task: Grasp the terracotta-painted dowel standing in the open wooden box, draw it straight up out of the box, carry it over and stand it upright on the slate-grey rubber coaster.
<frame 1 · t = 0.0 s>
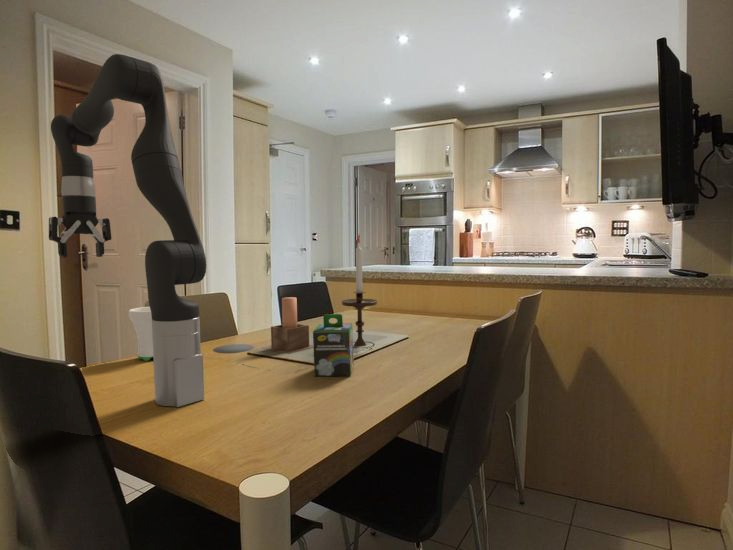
hand: (82, 257, 125), 29 cm above the table, fingers open, 8 cm apart
candlestick: (360, 347, 146), on the table
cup: (152, 358, 136), on the table
dowel: (290, 347, 144), point 1 cm above the table, touching open wooden box
coaster: (233, 351, 143), on the table
open wooden box: (290, 349, 144), on the table
chalk box: (334, 372, 119), on the table
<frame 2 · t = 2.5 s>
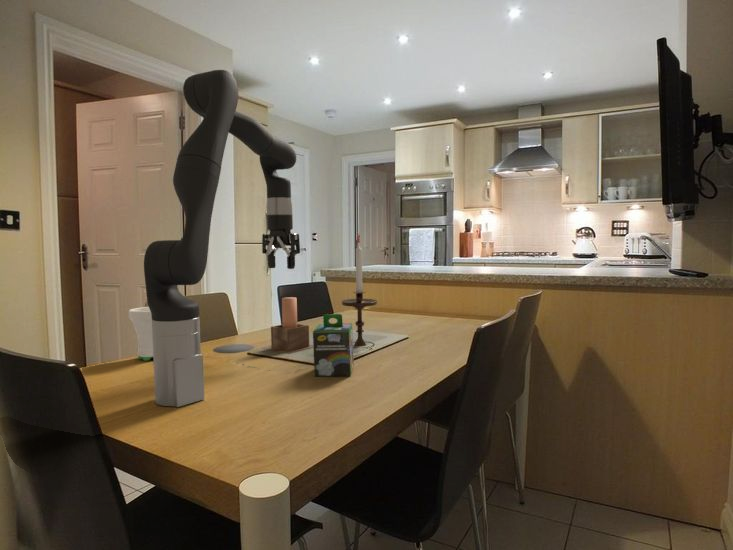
hand: (281, 268, 142), 25 cm above the table, fingers open, 8 cm apart
nothing on the table moved.
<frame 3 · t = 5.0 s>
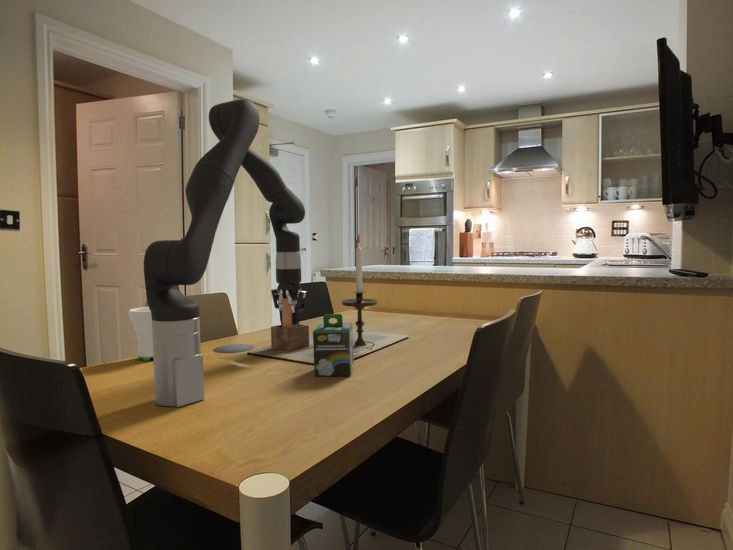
hand: (289, 323, 143), 8 cm above the table, fingers closed on dowel, 4 cm apart
dowel: (290, 347, 144), point 1 cm above the table, touching gripper, open wooden box
everything else where it was.
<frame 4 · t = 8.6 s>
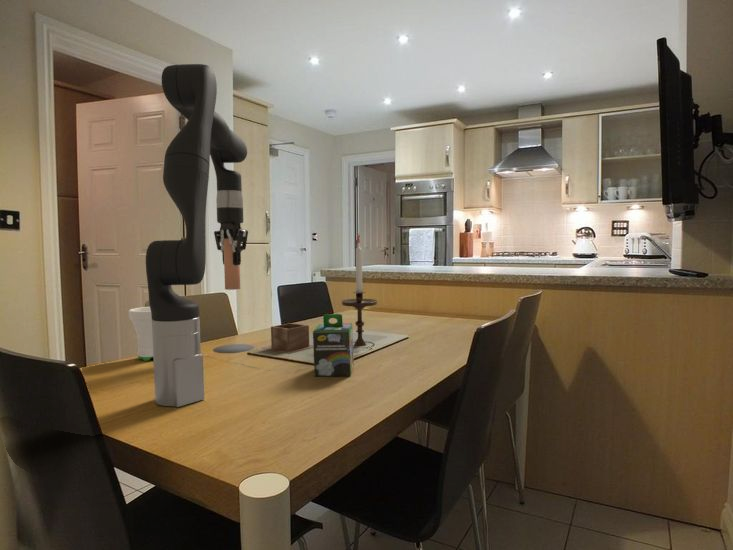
hand: (231, 264, 142), 26 cm above the table, fingers closed on dowel, 4 cm apart
dowel: (232, 288, 142), point 19 cm above the table, touching gripper
everything else where it was.
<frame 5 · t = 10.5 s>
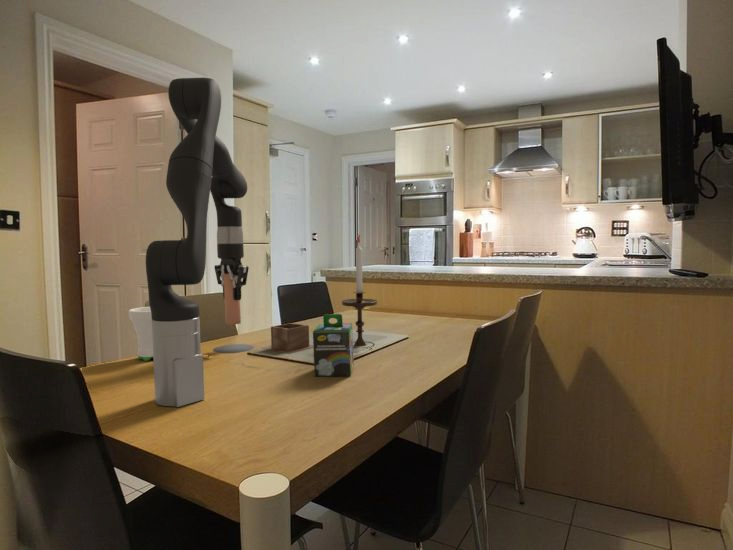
hand: (232, 299, 142), 16 cm above the table, fingers closed on dowel, 4 cm apart
dowel: (233, 323, 143), point 8 cm above the table, touching gripper
everything else where it was.
when the fingers open (10 cm above the table, at t = 12.1 s): dowel drops 1 cm, resting on coaster.
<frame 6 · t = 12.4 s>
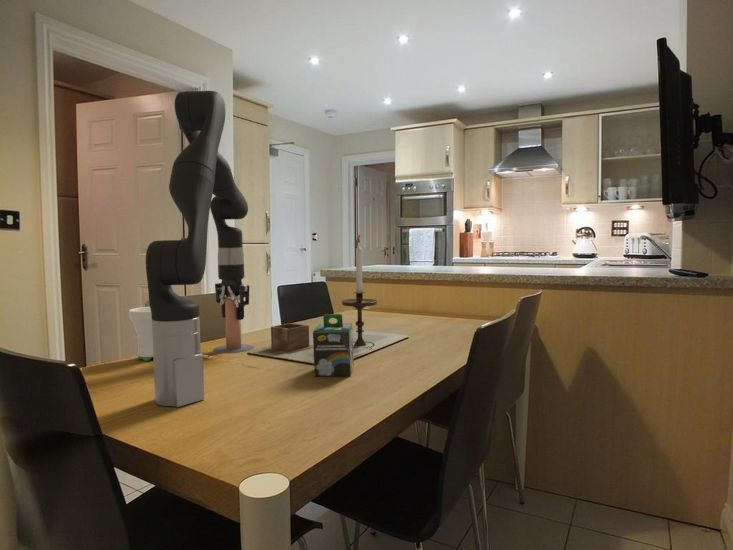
hand: (232, 318, 143), 10 cm above the table, fingers open, 6 cm apart
dowel: (233, 348, 143), point 1 cm above the table, touching coaster
everything else where it was.
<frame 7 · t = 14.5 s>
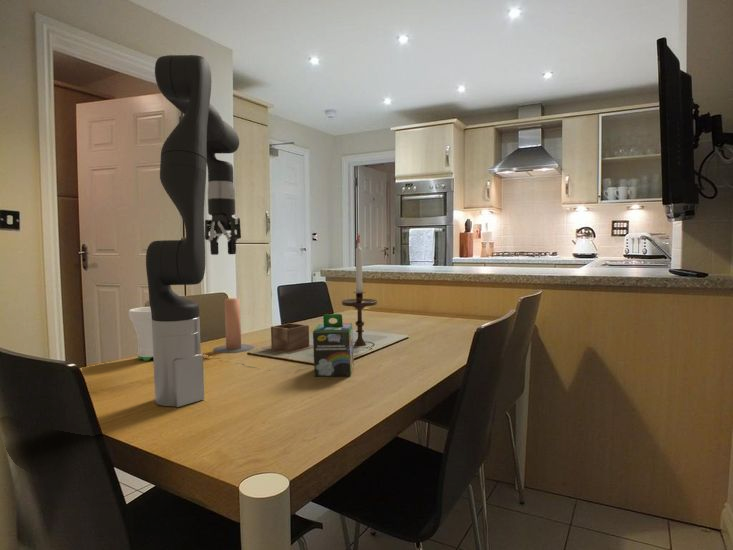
hand: (223, 254, 138), 29 cm above the table, fingers open, 8 cm apart
nothing on the table moved.
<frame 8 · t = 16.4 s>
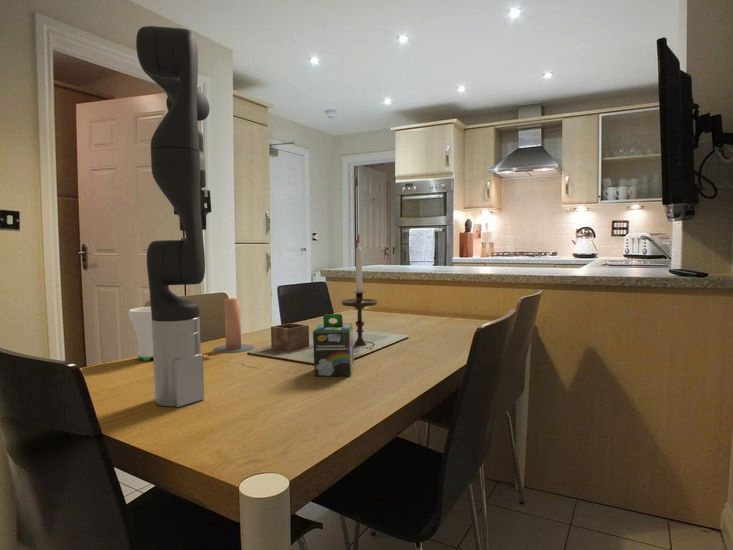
hand: (192, 230, 128), 36 cm above the table, fingers open, 8 cm apart
nothing on the table moved.
at the end: dowel inside the target area on the coaster (0.0 cm from its centre), point 0.8 cm above the coaster's base; dowel tilted 0°; the gripper is holding nothing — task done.
